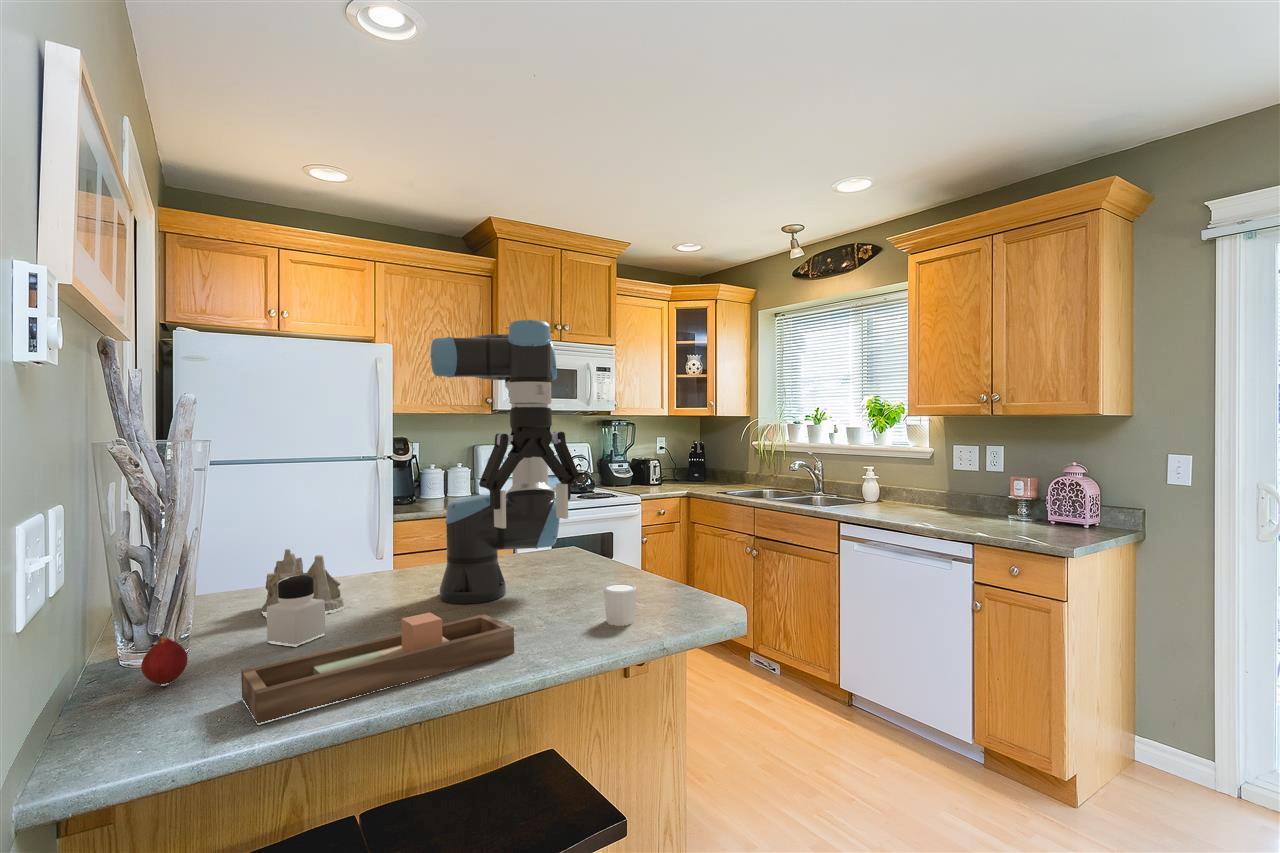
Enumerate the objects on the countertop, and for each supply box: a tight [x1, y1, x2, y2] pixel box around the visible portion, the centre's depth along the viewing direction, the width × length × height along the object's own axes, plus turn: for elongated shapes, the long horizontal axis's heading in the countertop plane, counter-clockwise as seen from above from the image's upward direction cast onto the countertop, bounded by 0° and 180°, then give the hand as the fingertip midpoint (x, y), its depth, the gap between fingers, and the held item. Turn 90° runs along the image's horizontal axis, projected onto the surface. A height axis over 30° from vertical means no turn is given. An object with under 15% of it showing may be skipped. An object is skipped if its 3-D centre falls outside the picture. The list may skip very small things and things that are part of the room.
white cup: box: [602, 583, 638, 627], centre depth 131 cm, size 7×7×7 cm
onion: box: [141, 636, 189, 686], centre depth 102 cm, size 6×6×8 cm
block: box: [400, 612, 443, 652], centre depth 109 cm, size 5×5×5 cm
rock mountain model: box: [261, 548, 345, 612], centre depth 143 cm, size 16×16×15 cm
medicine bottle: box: [266, 575, 326, 645], centre depth 122 cm, size 7×7×12 cm
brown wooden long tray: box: [240, 613, 515, 723], centre depth 105 cm, size 11×40×4 cm, turn 131°
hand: (532, 522), depth 117 cm, fingers open, 13 cm apart
